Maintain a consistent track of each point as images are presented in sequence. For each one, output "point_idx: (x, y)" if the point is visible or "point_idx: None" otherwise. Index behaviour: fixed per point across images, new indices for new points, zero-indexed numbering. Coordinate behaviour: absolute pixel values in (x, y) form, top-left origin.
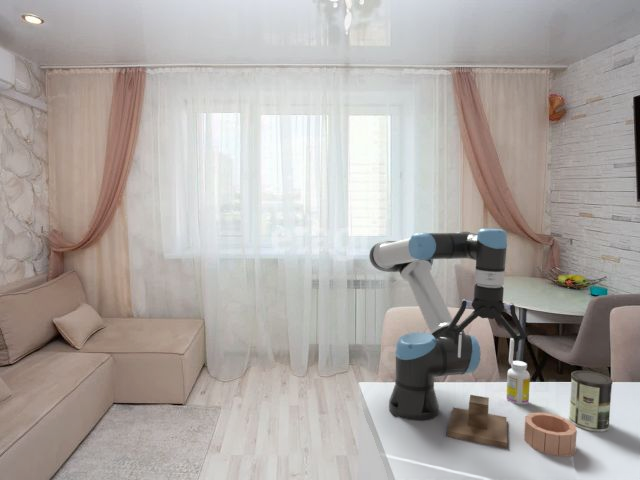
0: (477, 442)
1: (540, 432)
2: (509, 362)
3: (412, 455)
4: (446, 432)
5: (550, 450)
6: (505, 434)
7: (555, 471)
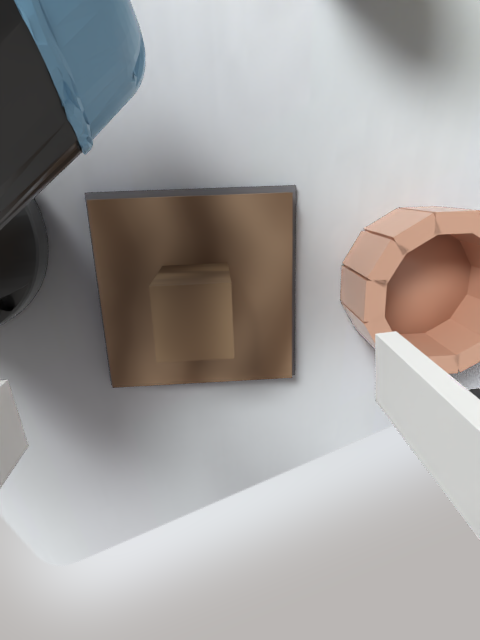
0: None
1: None
2: (376, 385)
3: (56, 495)
4: (108, 360)
5: None
6: (287, 330)
7: None
